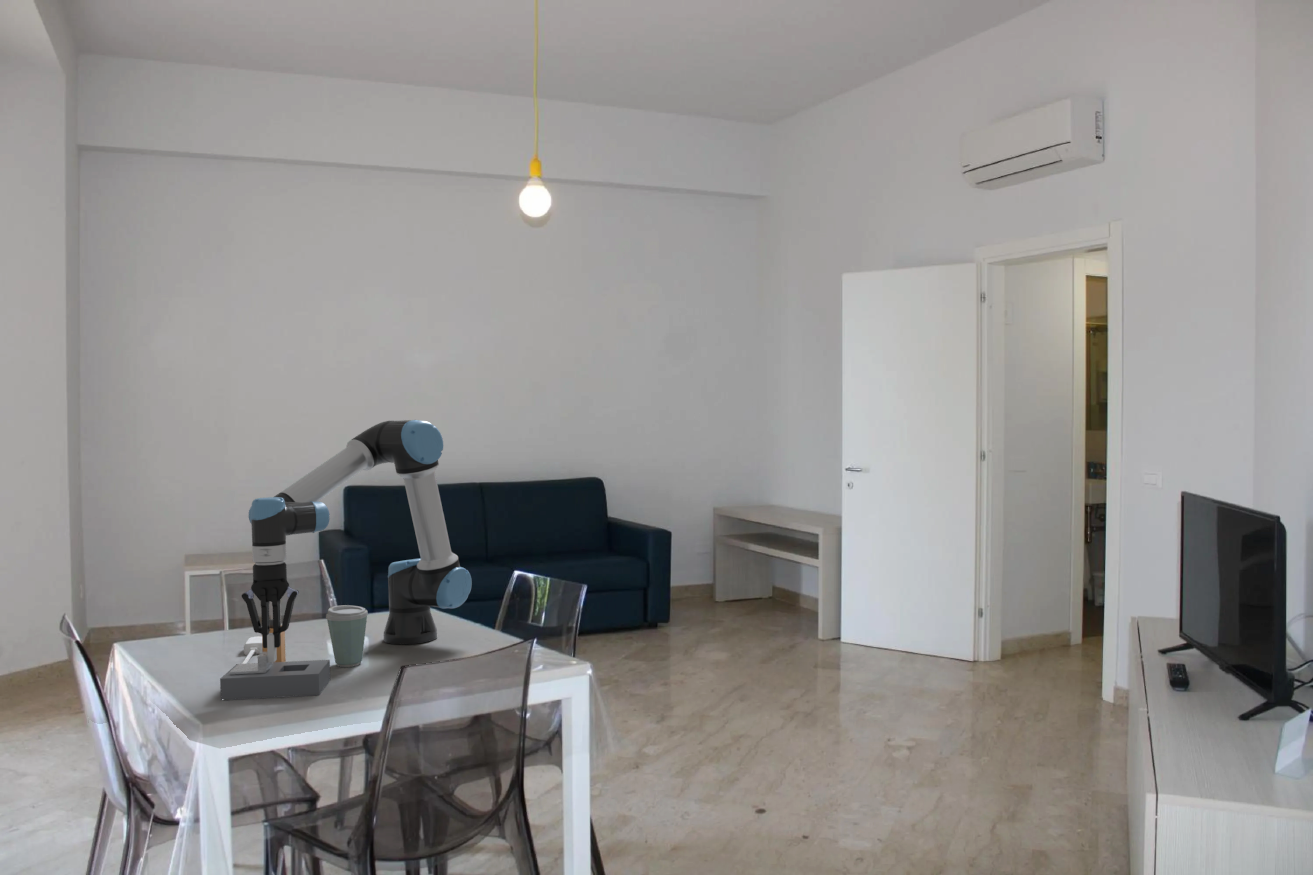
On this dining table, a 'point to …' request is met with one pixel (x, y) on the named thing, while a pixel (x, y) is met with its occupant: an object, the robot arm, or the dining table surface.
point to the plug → (280, 650)
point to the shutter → (254, 666)
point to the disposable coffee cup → (347, 633)
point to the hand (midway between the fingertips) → (272, 660)
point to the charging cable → (252, 647)
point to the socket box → (278, 681)
